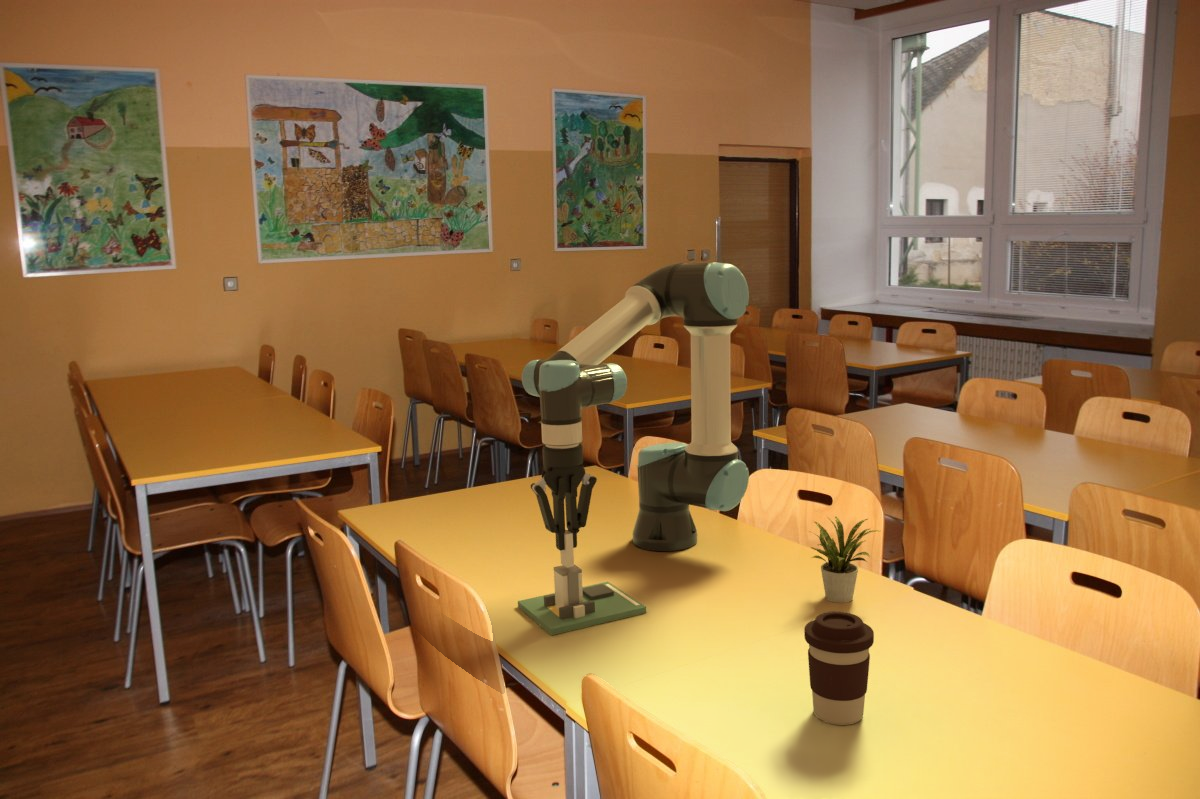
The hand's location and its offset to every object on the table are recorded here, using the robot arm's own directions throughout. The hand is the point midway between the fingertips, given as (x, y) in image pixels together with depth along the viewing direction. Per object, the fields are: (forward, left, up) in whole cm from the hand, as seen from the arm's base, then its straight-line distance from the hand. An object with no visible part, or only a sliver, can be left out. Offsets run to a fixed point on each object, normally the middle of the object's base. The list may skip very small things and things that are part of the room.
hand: (567, 564), depth 185 cm
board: (-3, -1, -10) cm, 10 cm away
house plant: (-50, +21, -10) cm, 55 cm away
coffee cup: (-18, +56, -10) cm, 60 cm away
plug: (0, 0, -9) cm, 9 cm away
